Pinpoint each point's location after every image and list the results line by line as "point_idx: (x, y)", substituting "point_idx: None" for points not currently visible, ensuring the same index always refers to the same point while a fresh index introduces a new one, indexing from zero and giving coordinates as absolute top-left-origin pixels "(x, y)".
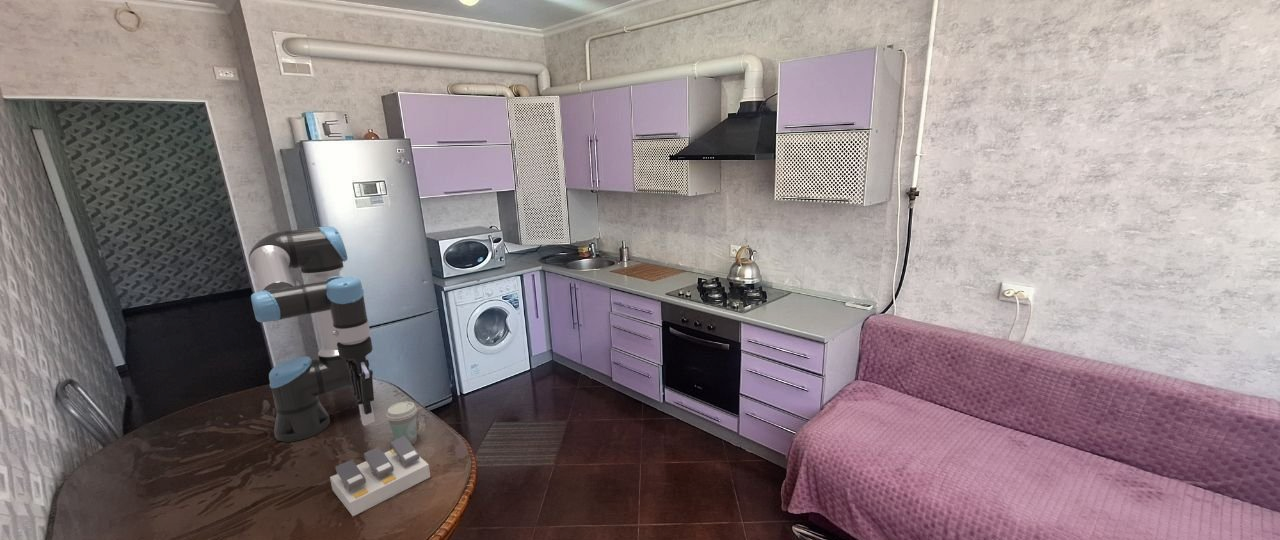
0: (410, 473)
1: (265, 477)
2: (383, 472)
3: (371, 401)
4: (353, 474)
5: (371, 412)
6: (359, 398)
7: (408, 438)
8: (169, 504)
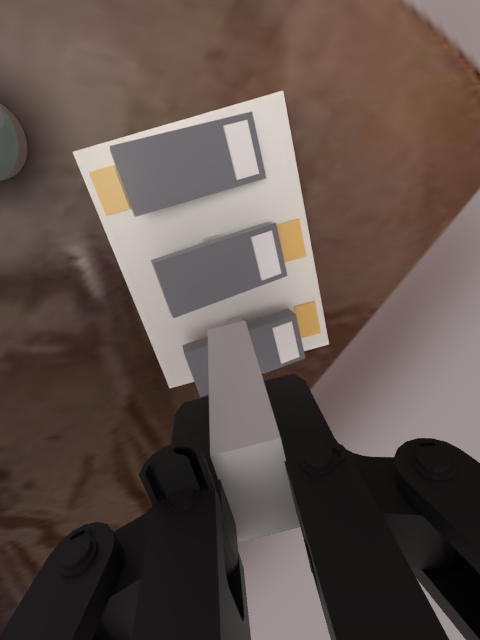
0: (296, 168)
1: (32, 491)
2: (281, 257)
3: (274, 421)
4: (262, 346)
5: (295, 376)
6: (238, 560)
7: (10, 128)
8: None
